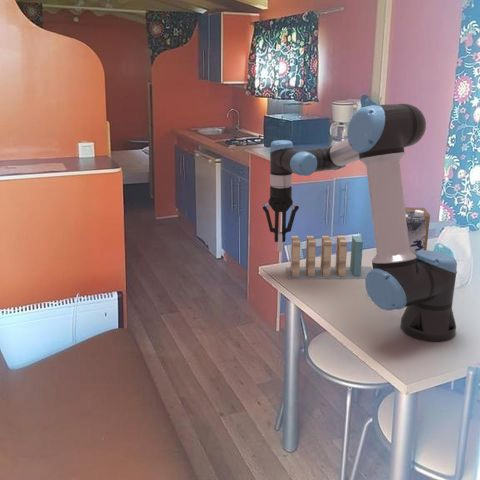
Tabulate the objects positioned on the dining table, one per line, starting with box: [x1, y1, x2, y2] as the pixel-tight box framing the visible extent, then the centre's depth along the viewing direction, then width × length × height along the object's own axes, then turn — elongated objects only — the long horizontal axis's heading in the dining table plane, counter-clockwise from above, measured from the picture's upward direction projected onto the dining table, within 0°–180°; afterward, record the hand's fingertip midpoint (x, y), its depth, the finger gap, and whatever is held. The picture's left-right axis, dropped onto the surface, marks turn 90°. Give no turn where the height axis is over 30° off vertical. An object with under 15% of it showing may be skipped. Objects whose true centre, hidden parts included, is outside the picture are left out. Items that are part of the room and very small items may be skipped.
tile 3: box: [319, 235, 333, 276], centre depth 202 cm, size 7×2×13 cm, turn 0°
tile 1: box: [290, 235, 301, 277], centre depth 202 cm, size 7×2×13 cm, turn 0°
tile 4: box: [334, 235, 348, 276], centre depth 202 cm, size 7×2×13 cm, turn 0°
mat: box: [284, 266, 373, 280], centre depth 204 cm, size 12×32×1 cm, turn 90°
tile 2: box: [305, 235, 317, 277], centre depth 202 cm, size 7×2×13 cm, turn 0°
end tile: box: [349, 235, 364, 276], centre depth 202 cm, size 7×2×13 cm, turn 1°
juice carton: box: [405, 210, 426, 254], centre depth 188 cm, size 9×10×27 cm
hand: (279, 250), depth 201 cm, fingers closed
